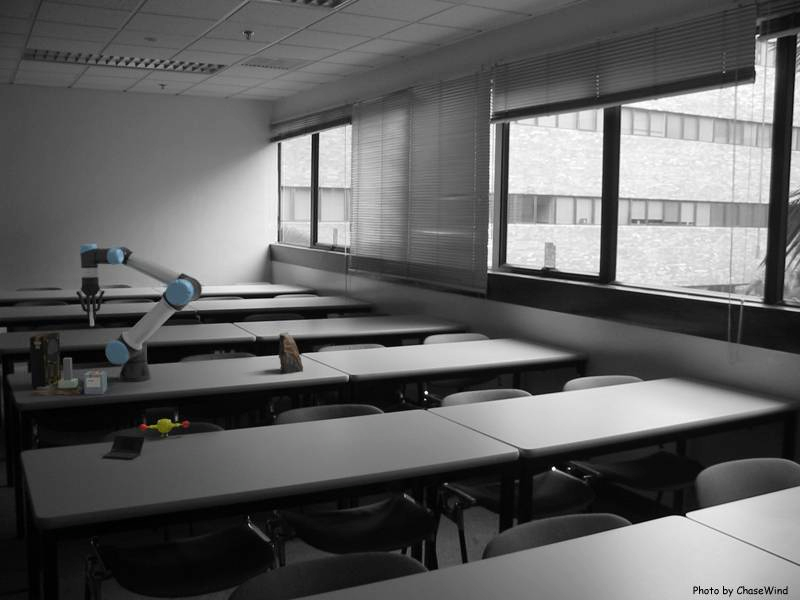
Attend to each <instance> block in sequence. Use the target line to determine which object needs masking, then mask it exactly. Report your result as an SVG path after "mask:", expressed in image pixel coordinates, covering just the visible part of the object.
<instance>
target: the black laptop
mask: <svg viewBox="0 0 800 600" xmlns="http://www.w3.org/2000/svg"><path fill="white" fill-rule="evenodd" d="M144 443H145V437H144V436H130V435H126V436H125V435H115V437H114V439H113V443H112V446H111V450H110V451H109V452H107V453H106V454H104V455H102V459H111V460H124V461H125V460H126V461H127V460H129V461H132V460H135V459H136V458H138V457H139V456H141V455H142V454H141V453H142V449H143V446H144Z"/></svg>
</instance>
